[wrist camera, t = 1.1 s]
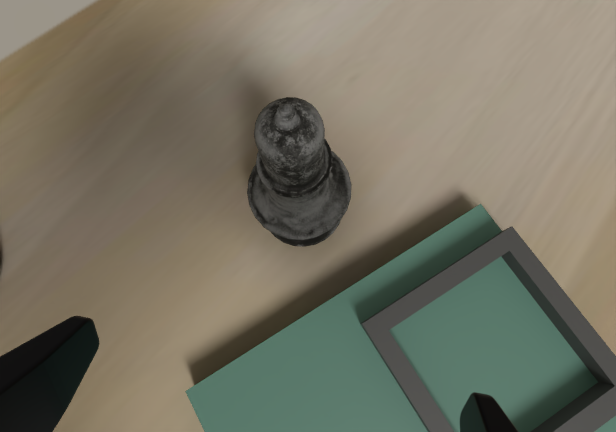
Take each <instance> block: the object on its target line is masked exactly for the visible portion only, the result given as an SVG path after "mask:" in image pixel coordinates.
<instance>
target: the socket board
mask: <svg viewBox="0 0 616 432" xmlns="http://www.w3.org/2000/svg"><path fill="white" fill-rule="evenodd" d="M473 392H477V393H482V394H487V395H490V396H492V397H493V398H494V399H495V400H496V401H497V403H498V404H499V405H500V407H501V408H502V410H503V411H504V412H505V414H506V415H507V417H508V418H509V419H510V421H511V422H512V423H513V425H514V426H515V428H516V429H517V430H518V432H616V356H615V355H614V353H613V352H612V351H611V350H610V348H609V347H608V346H607V345H606V343H605V342H604V341H603V340H602V338H601V337H600V336H599V335H598V333H597V332H596V331H595V330H594V328H593V327H592V326H591V325H590V323H589V322H588V321H587V320H586V318H585V317H584V316H583V315H582V313H581V312H580V311H579V310H578V308H577V307H576V306H575V305H574V303H573V302H572V301H571V300H570V298H569V297H568V296H567V295H566V293H565V292H564V291H563V290H562V288H561V287H560V286H559V285H558V283H557V282H556V281H555V280H554V278H553V277H552V276H551V275H550V273H549V272H548V271H547V270H546V268H545V267H544V266H543V265H542V263H541V262H540V261H539V260H538V258H537V257H536V256H535V255H534V253H533V252H532V251H531V250H530V248H529V247H528V246H527V245H526V243H525V242H524V241H523V240H522V238H521V237H520V236H519V234H518V233H517V232H516V231H515V229H514V228H513V227H510V228H508V229H506V230H504V231H502V230H501V229H500V228H499V227H498V225H497V224H496V223H495V222H494V220H493V219H492V218H491V216H490V215H489V214H488V213H487V211H486V210H485V209H484V208H483V206H482V205H481V204H479V205H478V206H476V207H475V208H473V209H472V210H470V211H468V212H467V213H465V214H464V215H462V216H461V217H459V218H457V219H456V220H454V221H453V222H451V223H450V224H448V225H446V226H445V227H443V228H442V229H440V230H439V231H437V232H435V233H434V234H432V235H431V236H429V237H427V238H426V239H424V240H423V241H421V242H420V243H418V244H416V245H415V246H413V247H412V248H410V249H409V250H407V251H405V252H404V253H402V254H401V255H399V256H398V257H396V258H394V259H393V260H391V261H390V262H388V263H387V264H385V265H383V266H382V267H380V268H379V269H377V270H376V271H374V272H372V273H371V274H369V275H368V276H366V277H365V278H363V279H361V280H360V281H358V282H357V283H355V284H353V285H352V286H350V287H349V288H347V289H346V290H344V291H342V292H341V293H339V294H338V295H336V296H335V297H333V298H331V299H330V300H328V301H327V302H325V303H324V304H322V305H320V306H319V307H317V308H316V309H314V310H313V311H311V312H309V313H308V314H306V315H305V316H303V317H302V318H300V319H298V320H297V321H295V322H294V323H292V324H290V325H289V326H287V327H286V328H284V329H283V330H281V331H279V332H278V333H276V334H275V335H273V336H272V337H270V338H268V339H267V340H265V341H264V342H262V343H261V344H259V345H257V346H256V347H254V348H253V349H251V350H250V351H248V352H246V353H245V354H243V355H242V356H240V357H239V358H237V359H235V360H234V361H232V362H231V363H229V364H228V365H226V366H224V367H223V368H221V369H220V370H218V371H216V372H215V373H213V374H212V375H210V376H209V377H207V378H205V379H204V380H202V381H201V382H199V383H198V384H196V385H194V386H193V387H191V388H190V389H188V390H187V391H186V393H187V396H188V398H189V400H190V402H191V404H192V406H193V408H194V410H195V412H196V414H197V417H198V419H199V421H200V423H201V425H202V427H203V429H204V431H205V432H460V414H461V411H462V409H463V407H464V405H465V404H466V402H467V400H468V398H469V396H470V395H471V394H472V393H473Z"/></svg>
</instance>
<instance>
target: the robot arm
mask: <svg viewBox="0 0 616 432" xmlns="http://www.w3.org/2000/svg"><path fill="white" fill-rule="evenodd" d="M98 347H99V338H98V335H97V331H96V328H95V325H94V322H93V320H92V319H90V318H86V317H81V316H73V317H71V318H69V319H67V320H65V321H63V322H61V323H60V324H58V325H56V326H54V327H53V328H51V329H49V330H47V331H45V332H44V333H42V334H40V335H38V336H36V337H35V338H33V339H31V340H29V341H27V342H26V343H24V344H22V345H20V346H19V347H17V348H15V349H13V350H11V351H10V352H8V353H6V354H4V355H2V356H1V357H0V432H53V430H54V428H55V427H56V425H57V424H58V422H59V421H60V419H61V417H62V416H63V414H64V412H65V411H66V409H67V407H68V405H69V404H70V402H71V400H72V398H73V396H74V394H75V392H76V390H77V388H78V386H79V385H80V383H81V381H82V379H83V377H84V375H85V373H86V371H87V369H88V367H89V365H90V363H91V361H92V360H93V358H94V356H95V354H96V352H97V350H98ZM460 432H518V430H517V429H516V428H515V426H514V425H513V423H512V422H511V421H510V419H509V418H508V417H507V415H506V414H505V412H504V411H503V410H502V408H501V407H500V405H499V404H498V403H497V401H496V400H495V399H494V398H493V397H492V396H490V395H487V394H482V393H477V392H473V393H472V394H471V395H470V396H469V398H468V400H467V402H466V404H465V405H464V407H463V409H462V411H461V414H460Z"/></svg>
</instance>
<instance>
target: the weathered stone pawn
mask: <svg viewBox="0 0 616 432" xmlns="http://www.w3.org/2000/svg"><path fill="white" fill-rule="evenodd" d="M324 132H325V129H324V124H323V120H322V118H321V116H320V114H319V113H318V111H317V110H316V108H315V107H314V106H313V105H312V104H310V103H308V102H307V101H305V100H302V99H299V98H289V97H287V98H282V99H278V100H276V101H274V102H272V103H270V104H269V105H267V106H266V107H265V108H264V109H263V110H262V111H261V113H260V114H259V116H258V118H257V120H256V123H255V131H254V137H255V143H256V146H257V148H258V153H257V161H256V165H255V166H254V168H253V170H252V173H251V175H250V178H249V181H248V190H247V194H248V200H249V205H250V207H251V210H252V212H253V214H254V216H255V218H256V219H257V220H258V221H259V222H260V223H261V224H262V226H263V227H264V228H266V229H267V230H269V231H270V232H271V233H272V234H273V235H274V236H275V237H276V238H278V239H279V240H281V241H282V242H284V243H287V244H290V245H293V246H310V245H315V244H317V243H319V242H321V241H323V240H325V239H326V238H328V237H329V236H330V235H331V234H332V233H333V232H334V231H335V229H336V228H337V226H338V225H339V223H340V220H341V218H342V217H343V215H344V214H345V212H346V211H347V208H348V205H349V202H350V199H351V181H350V177H349V173H348V171H347V169H346V167H345V165H344V164H343V162H342V160H341V159H340V158H339V157H338V156H337V155H336V154H335V153H334V152H332V151H331V149H330V147H329V145H328V143H327V141H326V140H325V139H324Z"/></svg>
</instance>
